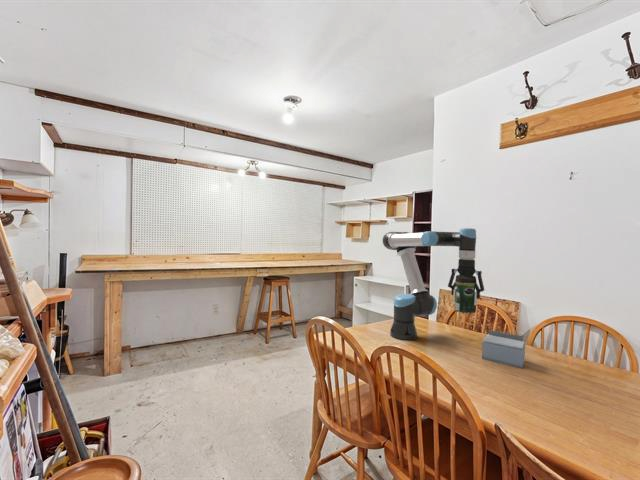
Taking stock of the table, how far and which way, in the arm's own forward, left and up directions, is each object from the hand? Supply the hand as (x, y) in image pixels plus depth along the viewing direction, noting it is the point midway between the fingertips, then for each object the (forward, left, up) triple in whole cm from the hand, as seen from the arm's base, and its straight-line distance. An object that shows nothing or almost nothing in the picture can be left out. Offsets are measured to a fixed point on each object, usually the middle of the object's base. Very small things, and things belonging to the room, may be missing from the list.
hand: (465, 303), depth 155 cm
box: (+17, +1, -24) cm, 30 cm away
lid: (+17, +1, -16) cm, 24 cm away
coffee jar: (0, 0, -4) cm, 4 cm away
